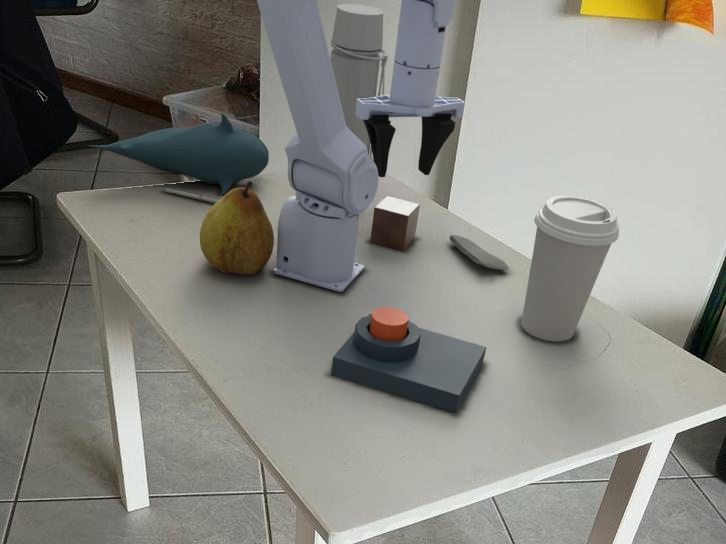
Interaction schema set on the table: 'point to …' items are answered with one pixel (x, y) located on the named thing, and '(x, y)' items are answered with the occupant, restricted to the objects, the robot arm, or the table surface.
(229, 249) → the fruit
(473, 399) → the table surface
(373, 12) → the water bottle
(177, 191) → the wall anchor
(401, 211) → the walnut block
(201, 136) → the toy
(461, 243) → the decorative stone
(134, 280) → the table surface
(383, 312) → the lid button
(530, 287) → the coffee cup
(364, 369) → the grey base slab
